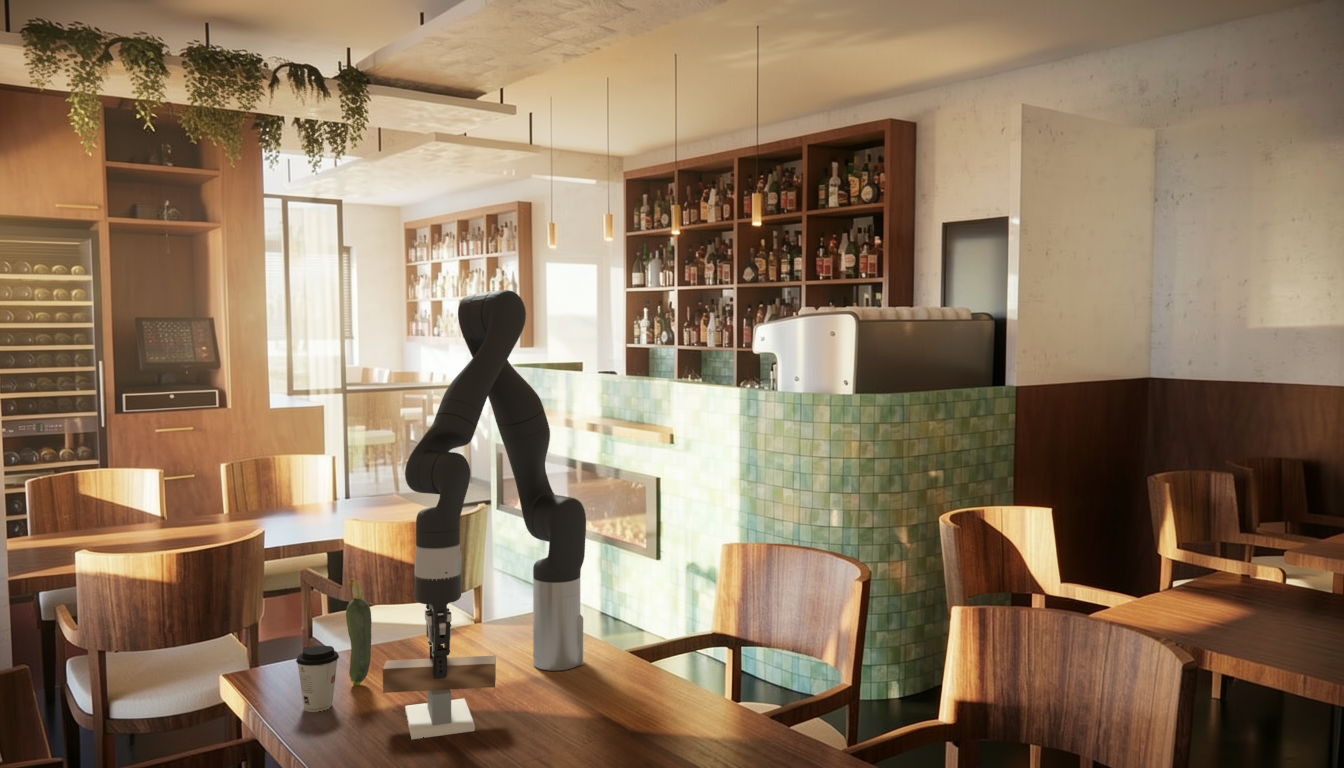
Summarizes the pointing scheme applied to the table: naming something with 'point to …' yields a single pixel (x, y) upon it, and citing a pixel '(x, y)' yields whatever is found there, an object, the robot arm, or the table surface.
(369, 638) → the vegetable
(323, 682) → the coffee cup
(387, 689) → the beam
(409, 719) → the fulcrum
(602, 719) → the table surface
